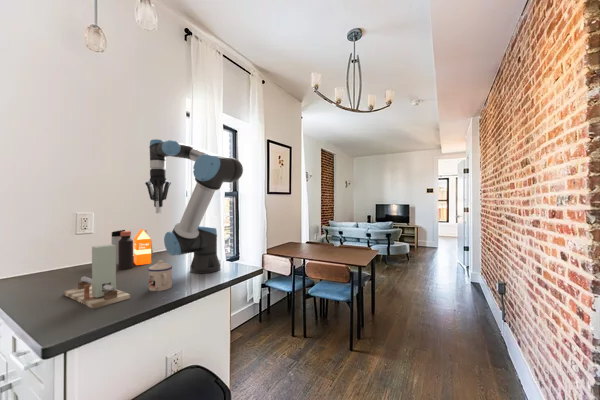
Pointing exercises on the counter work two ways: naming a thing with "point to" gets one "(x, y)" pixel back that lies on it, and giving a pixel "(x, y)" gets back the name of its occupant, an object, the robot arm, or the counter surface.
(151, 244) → the squeeze bottle
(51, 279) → the counter surface
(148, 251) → the orange juice
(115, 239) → the travel mug
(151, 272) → the teacup with lid
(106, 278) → the pale green block
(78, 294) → the rail base
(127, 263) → the vinegar
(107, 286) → the steel rod
